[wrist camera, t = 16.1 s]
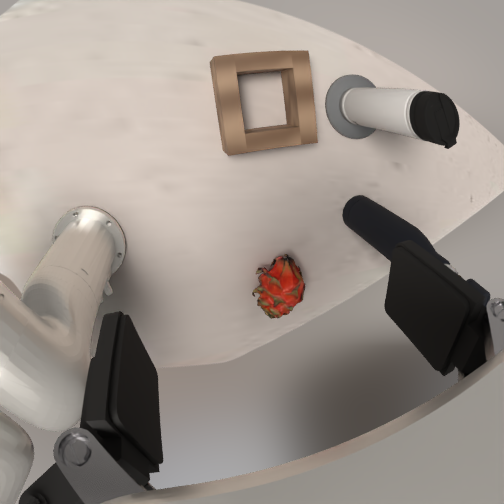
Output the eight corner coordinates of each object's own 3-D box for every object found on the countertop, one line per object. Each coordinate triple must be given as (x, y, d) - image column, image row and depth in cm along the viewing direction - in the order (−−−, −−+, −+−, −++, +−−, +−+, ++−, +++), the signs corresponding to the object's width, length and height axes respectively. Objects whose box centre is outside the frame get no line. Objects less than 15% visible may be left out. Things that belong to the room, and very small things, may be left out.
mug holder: (303, 138, 44) (317, 142, 39) (222, 150, 42) (228, 155, 38) (294, 55, 37) (308, 50, 33) (209, 62, 35) (213, 56, 31)
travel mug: (348, 132, 44) (437, 158, 27) (332, 95, 41) (422, 102, 24) (375, 117, 44) (467, 138, 27) (361, 82, 40) (454, 86, 23)
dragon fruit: (258, 301, 58) (271, 242, 55) (300, 314, 56) (316, 254, 52) (242, 319, 50) (255, 251, 47) (290, 335, 48) (308, 266, 44)
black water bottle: (342, 197, 50) (474, 292, 24) (372, 193, 51) (502, 277, 25) (341, 230, 53) (456, 337, 27) (370, 225, 54) (486, 319, 28)
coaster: (381, 136, 46) (383, 137, 46) (328, 140, 45) (329, 141, 44) (378, 76, 41) (380, 76, 40) (322, 74, 39) (323, 74, 39)
